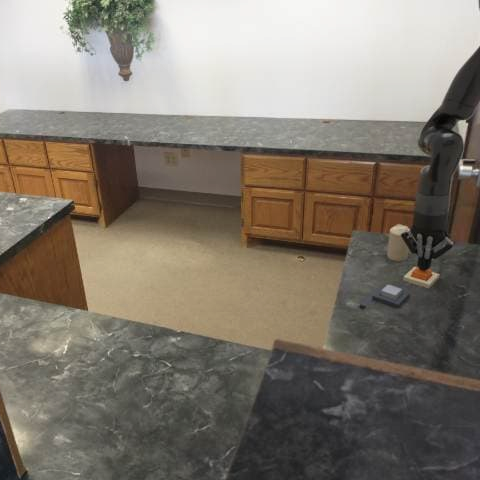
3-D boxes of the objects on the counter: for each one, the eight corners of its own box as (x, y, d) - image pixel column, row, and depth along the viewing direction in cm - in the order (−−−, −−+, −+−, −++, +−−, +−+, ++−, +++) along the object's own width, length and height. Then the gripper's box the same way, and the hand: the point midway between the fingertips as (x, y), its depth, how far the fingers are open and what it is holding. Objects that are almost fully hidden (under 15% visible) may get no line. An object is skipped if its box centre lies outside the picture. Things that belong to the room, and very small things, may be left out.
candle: (384, 253, 151) (387, 222, 147) (403, 252, 151) (407, 221, 146) (391, 262, 146) (394, 231, 142) (410, 260, 146) (415, 229, 141)
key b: (387, 290, 130) (388, 284, 129) (401, 294, 127) (402, 288, 126) (380, 296, 127) (381, 290, 127) (394, 301, 125) (395, 295, 124)
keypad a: (410, 270, 141) (412, 260, 140) (449, 281, 135) (451, 271, 133) (391, 288, 134) (392, 278, 133) (430, 301, 128) (432, 291, 126)
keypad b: (381, 287, 135) (382, 278, 134) (420, 300, 128) (422, 290, 127) (359, 307, 128) (360, 297, 127) (399, 322, 121) (400, 312, 120)
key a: (417, 271, 136) (418, 266, 135) (431, 275, 133) (432, 270, 132) (411, 277, 134) (412, 271, 133) (425, 281, 131) (426, 275, 130)
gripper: (466, 208, 122) (456, 270, 130) (410, 197, 131) (404, 256, 139) (454, 219, 118) (444, 283, 126) (397, 207, 127) (391, 267, 135)
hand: (423, 269), depth 132 cm, fingers closed
